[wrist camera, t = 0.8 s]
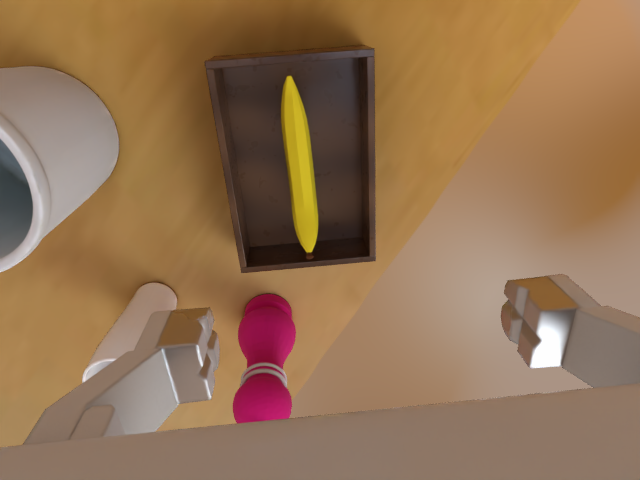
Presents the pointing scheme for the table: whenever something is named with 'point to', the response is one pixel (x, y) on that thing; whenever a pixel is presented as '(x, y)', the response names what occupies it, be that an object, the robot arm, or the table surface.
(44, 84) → the utensil holder
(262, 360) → the pepper mill
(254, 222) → the tray
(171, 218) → the table surface
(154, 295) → the drinking glass
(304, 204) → the banana
